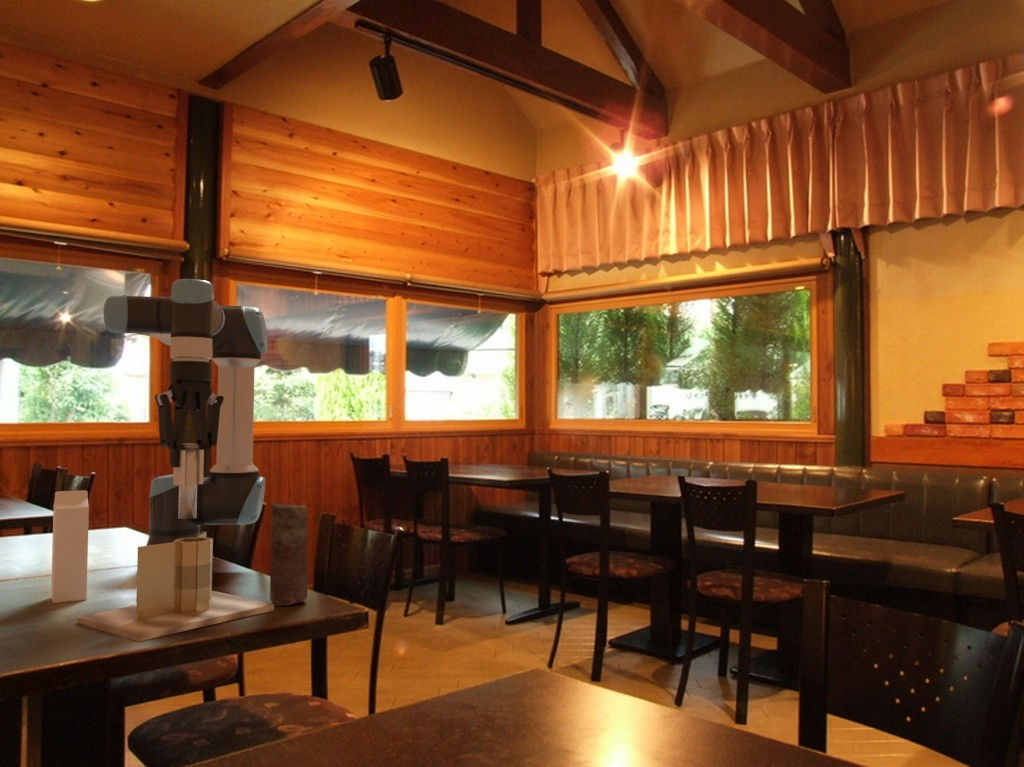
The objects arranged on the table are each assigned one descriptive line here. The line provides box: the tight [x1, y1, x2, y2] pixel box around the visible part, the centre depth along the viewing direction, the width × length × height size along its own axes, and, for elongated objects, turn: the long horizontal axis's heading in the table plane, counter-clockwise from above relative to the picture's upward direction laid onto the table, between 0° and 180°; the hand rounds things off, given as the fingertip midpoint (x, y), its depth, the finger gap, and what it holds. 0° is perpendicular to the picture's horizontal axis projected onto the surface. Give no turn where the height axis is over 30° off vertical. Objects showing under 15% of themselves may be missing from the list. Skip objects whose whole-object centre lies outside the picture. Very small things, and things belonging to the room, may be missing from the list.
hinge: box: [136, 531, 214, 620], centre depth 159 cm, size 19×11×13 cm, turn 144°
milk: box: [50, 489, 90, 604], centre depth 172 cm, size 6×6×22 cm
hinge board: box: [76, 590, 275, 642], centre depth 158 cm, size 28×20×1 cm
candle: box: [269, 503, 309, 607], centre depth 170 cm, size 8×7×20 cm
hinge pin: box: [178, 442, 199, 519], centre depth 159 cm, size 4×4×14 cm
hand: (188, 483), depth 159 cm, fingers closed on hinge pin, 3 cm apart
